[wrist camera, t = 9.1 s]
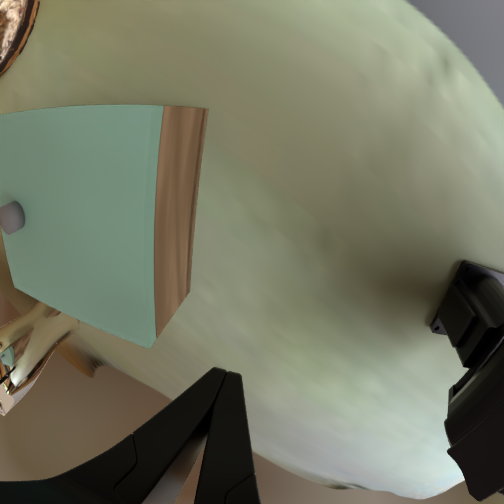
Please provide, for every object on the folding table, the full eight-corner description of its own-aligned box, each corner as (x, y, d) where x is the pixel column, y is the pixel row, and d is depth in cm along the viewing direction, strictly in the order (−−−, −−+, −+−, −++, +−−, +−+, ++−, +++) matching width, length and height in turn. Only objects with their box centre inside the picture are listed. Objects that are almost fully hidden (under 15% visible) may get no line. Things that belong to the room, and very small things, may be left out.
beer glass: (47, 320, 31) (-23, 390, 18) (38, 278, 28) (-48, 350, 15) (85, 343, 31) (15, 427, 17) (78, 301, 28) (-12, 391, 14)
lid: (163, 105, 12) (138, 104, 10) (156, 339, 18) (141, 361, 16) (4, 114, 13) (-19, 118, 11) (21, 281, 19) (5, 294, 18)
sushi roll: (65, 10, 15) (34, 3, 11) (-4, 111, 21) (-31, 117, 17) (40, -45, 11) (17, -51, 7) (-21, 42, 17) (-43, 44, 13)
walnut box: (208, 108, 17) (164, 105, 12) (189, 291, 24) (156, 338, 18) (60, 107, 19) (7, 113, 14) (65, 251, 25) (23, 279, 20)
